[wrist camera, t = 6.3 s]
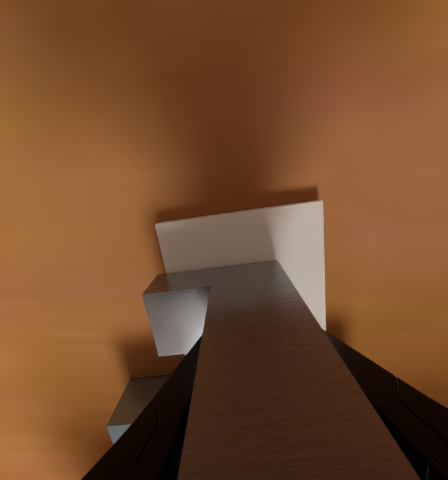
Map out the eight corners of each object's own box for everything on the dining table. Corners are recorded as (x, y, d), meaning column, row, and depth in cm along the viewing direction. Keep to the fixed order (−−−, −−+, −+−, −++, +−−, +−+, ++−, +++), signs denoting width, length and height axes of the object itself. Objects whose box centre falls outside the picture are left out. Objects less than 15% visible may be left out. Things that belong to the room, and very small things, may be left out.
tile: (318, 199, 12) (322, 200, 11) (322, 337, 14) (326, 344, 13) (158, 222, 12) (154, 224, 11) (187, 352, 14) (185, 359, 14)
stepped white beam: (277, 259, 12) (429, 493, 3) (281, 315, 12) (408, 624, 4) (157, 274, 12) (-36, 521, 3) (170, 328, 13) (46, 636, 4)
